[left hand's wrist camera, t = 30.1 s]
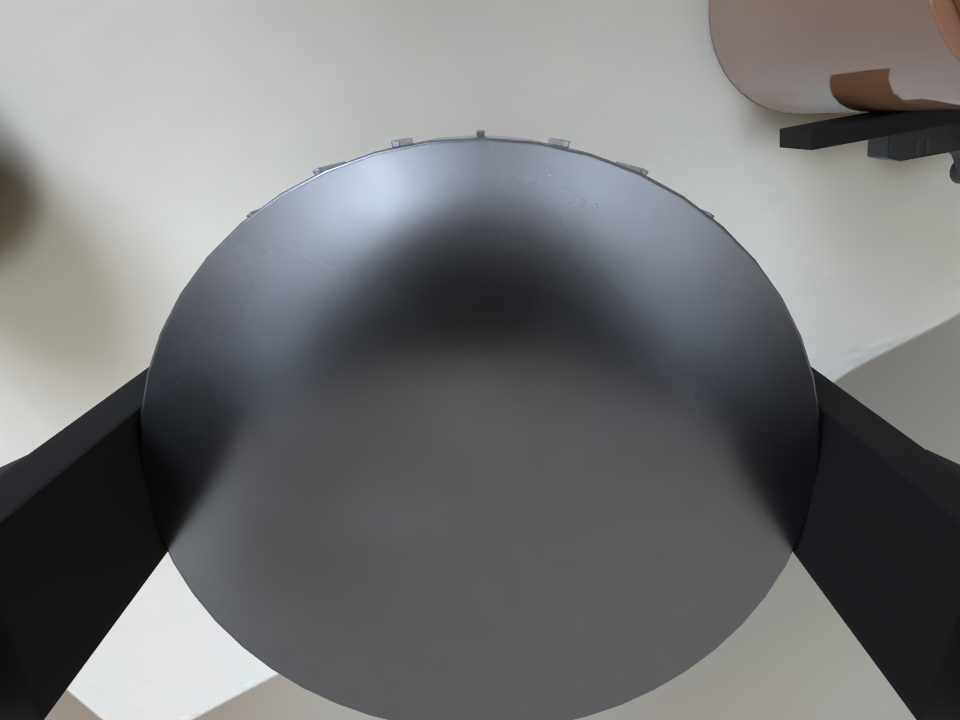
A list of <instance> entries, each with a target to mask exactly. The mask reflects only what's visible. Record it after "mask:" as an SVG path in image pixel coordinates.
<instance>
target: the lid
mask: <svg viewBox="0 0 960 720" xmlns="http://www.w3.org/2000/svg"><path fill="white" fill-rule="evenodd" d="M391 143H392V147H393V148H389V149H385V150H381V151H377V152H374V153H371V154H368V155H365V156H362V157H360V158H357V159H354V160H351V161H348V162H345V161H344V162H340V163H336V164H332V165H328V166H324V167H320V168H317V169H315V170H313V173H314V175H315V176H313V177H311V178H309V179H307V180H305V181H304V182H302V183H300V184H298V185H296V186H294V187H292V188H290V189H289V190H287V191H285V192H283V193H281V194H280V195H278V196H277V197H276V198H274V199H273V200H272V201H270V202H269V203H267V204H266V205H265V206H263V207H262V208H261V209H258V210H255V211H252V212H251V213H249V214H248V215H247V217H248V218H247V219H246V220H244V221H243V222H242V223H241V224H240V225H239V226H238V227H237V228H236V229H235V230H234V231H233V232H232V233H231V234H230V235H229V236H228V237H227V238H226V239H225V240H224V241H223V242H222V243H221V244H220V245H219V246H218V247H217V248H216V249H215V250H214V251H213V252H212V253H211V254H210V255H209V256H208V257H207V258H206V259H205V261H204V262H203V263H202V265H201V266H200V268H199V269H198V270H197V272H196V273H195V274H194V276H193V277H192V279H191V280H190V281H189V283H188V284H187V285H186V287H185V288H184V290H183V291H182V292H181V294H180V296H179V298H178V300H177V301H176V303H175V305H174V307H173V309H172V311H171V313H170V315H169V317H168V319H167V321H166V323H165V325H164V327H163V329H162V331H161V333H160V336H159V339H158V342H157V345H156V348H155V351H154V354H153V357H152V360H151V363H150V366H149V369H148V372H147V378H146V385H145V391H144V397H143V403H142V410H141V459H142V466H143V471H144V476H145V481H146V486H147V490H148V495H149V499H150V503H151V507H152V511H153V515H154V519H155V522H156V526H157V529H158V531H159V533H160V535H161V537H162V539H163V542H164V544H165V546H166V548H167V550H168V552H169V555H170V557H171V559H172V561H173V563H174V564H175V566H176V568H177V569H178V571H179V572H180V574H181V576H182V577H183V579H184V580H185V582H186V583H187V585H188V587H189V588H190V590H191V591H192V593H193V594H194V595H195V597H196V598H197V599H198V600H199V601H200V603H201V604H202V605H203V606H204V608H205V609H206V610H207V611H208V612H209V614H210V615H211V616H212V617H213V618H214V620H215V621H216V622H217V623H218V624H219V625H220V626H221V627H222V628H223V629H224V630H225V631H226V632H227V633H229V634H230V635H231V636H232V637H233V638H234V639H235V640H236V641H237V642H238V643H239V644H240V645H241V646H242V647H243V648H245V649H246V650H247V651H249V652H250V653H251V654H253V655H254V656H255V657H257V658H258V659H259V660H260V661H262V662H263V663H264V664H266V665H267V666H268V667H270V668H271V669H273V670H274V671H276V672H277V673H279V674H281V675H282V676H284V677H286V678H288V679H289V680H291V681H292V682H294V683H296V684H298V685H299V686H301V687H302V688H304V689H307V690H309V691H311V692H313V693H315V694H317V695H319V696H322V697H324V698H326V699H328V700H330V701H332V702H334V703H337V704H340V705H342V706H345V707H348V708H351V709H354V710H357V711H359V712H363V713H365V714H368V715H371V716H375V717H379V718H383V719H387V720H574V719H578V718H582V717H586V716H589V715H592V714H595V713H598V712H601V711H604V710H607V709H610V708H613V707H616V706H619V705H622V704H624V703H626V702H628V701H630V700H632V699H635V698H637V697H639V696H641V695H644V694H646V693H648V692H650V691H652V690H654V689H656V688H658V687H659V686H661V685H663V684H665V683H666V682H668V681H670V680H671V679H673V678H675V677H677V676H678V675H680V674H682V673H683V672H685V671H687V670H688V669H689V668H690V667H692V666H693V665H695V664H696V663H697V662H699V661H700V660H701V659H703V658H704V657H705V656H707V655H708V654H710V653H711V652H712V651H714V650H715V649H716V648H717V647H718V646H719V645H720V644H721V643H722V642H724V641H725V640H726V639H727V638H728V637H729V636H730V635H731V634H732V633H733V632H734V631H735V630H736V629H737V628H739V627H740V626H741V625H742V624H743V622H744V621H745V620H746V619H747V618H748V617H749V615H750V614H751V613H752V612H753V611H754V609H755V608H756V607H757V606H758V605H759V604H760V602H761V601H762V600H763V599H764V598H765V596H766V595H767V593H768V592H769V590H770V589H771V587H772V586H773V584H774V583H775V581H776V580H777V578H778V576H779V575H780V573H781V572H782V570H783V569H784V567H785V566H786V564H787V562H788V559H789V557H790V555H791V553H792V551H793V549H794V547H795V545H796V543H797V541H798V539H799V536H800V534H801V532H802V529H803V526H804V523H805V520H806V517H807V514H808V510H809V506H810V502H811V498H812V494H813V489H814V484H815V480H816V475H817V469H818V463H819V447H820V416H819V409H818V402H817V395H816V389H815V382H814V376H813V373H812V369H811V366H810V363H809V360H808V357H807V353H806V350H805V347H804V344H803V341H802V337H801V335H800V333H799V331H798V329H797V327H796V325H795V323H794V321H793V319H792V317H791V315H790V313H789V311H788V309H787V307H786V305H785V303H784V301H783V299H782V297H781V295H780V294H779V293H778V291H777V290H776V288H775V287H774V285H773V284H772V283H771V281H770V280H769V278H768V277H767V276H766V274H765V273H764V271H763V270H762V269H761V267H760V266H759V264H758V263H757V262H756V260H755V259H754V258H753V257H752V256H751V255H750V254H749V253H748V252H747V251H746V250H745V249H744V248H743V247H742V246H741V245H740V244H739V243H738V242H737V241H736V239H735V238H734V237H733V236H732V235H731V234H730V233H729V232H728V231H727V230H726V229H725V228H724V227H723V226H722V225H720V224H719V223H718V222H717V221H715V220H714V219H713V218H714V216H713V215H712V214H711V213H710V212H707V211H704V210H701V209H699V208H698V207H697V206H695V205H694V204H693V203H691V202H690V201H689V200H688V199H686V198H685V197H684V196H682V195H680V194H678V193H677V192H675V191H673V190H671V189H669V188H667V187H666V186H664V185H662V184H660V183H658V182H656V181H655V180H653V179H651V178H649V177H647V176H646V175H647V173H648V171H647V170H645V169H643V168H639V167H635V166H631V165H627V164H623V163H619V162H616V163H614V162H611V161H609V160H606V159H603V158H601V157H598V156H595V155H593V154H590V153H587V152H582V151H578V150H574V149H570V148H568V147H569V144H570V142H569V141H565V140H560V139H553V138H549V141H548V144H547V143H543V142H538V141H534V140H529V139H525V138H511V137H498V136H485V135H484V130H477V136H463V137H447V138H437V139H432V140H427V141H422V142H417V143H413V140H412V138H407V139H400V140H395V141H392V142H391ZM412 143H413V144H412Z"/></svg>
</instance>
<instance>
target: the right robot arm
mask: <svg viewBox="0 0 960 720" xmlns="http://www.w3.org/2000/svg"><path fill="white" fill-rule="evenodd" d="M863 140H868V155H867V156H868V157H873V158H877V159H885V160H896V161H903V160H908V159H914V158H919V157H925V156H930V155H936V154H941V153H947V152H949V153H950V154H951V155H952V157H953V161H954V163H953V164H952V166H951V169H950V178H951V180H952V181H953V182H955V183H959V184H960V110H930V111H889V112H867V113H862V114H857V115H851V116H846V117H841V118H835V119H830V120H825V121H819V122H814V123H809V124H803V125H798V126H793V127H787V128H782V129H780V147H783V148H794V149H806V150H814V149H820V148H825V147H830V146H836V145H841V144H847V143H852V142H857V141H863Z"/></svg>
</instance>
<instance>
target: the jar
mask: <svg viewBox="0 0 960 720" xmlns="http://www.w3.org/2000/svg"><path fill="white" fill-rule="evenodd" d="M709 22H710V31H711V37H712V42H713V46H714V50H715V52H716V55H717V58H718V60H719V63H720V65H721V66H722V68H723V70H724V72H725V74H726V75H727V77H728V78H729V79H730V81H731V82H732V83H733V84H734V86H735V87H736V88H737V89H738V90H739V91H740V92H742V93H743V94H744V95H745V96H746V97H748V98H749V99H751V100H752V101H754V102H755V103H757V104H759V105H761V106H763V107H765V108H768V109H772V110H775V111H778V112H785V113H796V114H807V113H848V112H889V111H930V110H960V0H710V3H709Z"/></svg>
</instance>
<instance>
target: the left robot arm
mask: <svg viewBox="0 0 960 720" xmlns="http://www.w3.org/2000/svg"><path fill="white" fill-rule="evenodd" d="M148 369H149V367H148V368H147V369H146V370H144V371H143V372H142V373H140V374H139V375H137V376H136V377H135V378H133V379H132V380H130V381H129V382H128V383H126V384H125V385H124V386H122V387H121V388H119V389H118V390H117V391H115V392H114V393H113V394H111V395H110V396H108V397H107V398H106V399H104V400H103V401H102V402H100V403H99V404H97V405H96V406H95V407H93V408H92V409H91V410H89V411H88V412H86V413H85V414H84V415H82V416H81V417H80V418H78V419H77V420H75V421H74V422H73V423H71V424H70V425H68V426H67V427H66V428H64V429H63V430H62V431H60V432H59V433H57V434H56V435H55V436H53V437H52V438H51V439H49V440H48V441H46V442H45V443H44V444H42V445H41V446H40V447H38V448H37V449H35V450H34V451H33V452H31V453H30V454H29V455H26V456H24V457H22V458H20V459H18V460H16V461H13V462H11V463H9V464H7V465H5V466H3V467H0V720H44V719H45V717H46V716H47V715H48V713H49V712H50V711H51V709H52V708H53V707H54V705H55V704H56V702H57V701H58V700H59V698H60V697H61V696H62V694H63V693H64V692H65V690H66V689H67V688H68V686H69V685H70V684H71V682H72V681H73V679H74V678H75V677H76V675H77V674H78V673H79V671H80V670H81V669H82V667H83V666H84V664H85V663H86V662H87V660H88V659H89V658H90V656H91V655H92V654H93V652H94V651H95V650H96V648H97V647H98V645H99V644H100V643H101V641H102V640H103V639H104V637H105V636H106V635H107V633H108V632H109V630H110V629H111V628H112V626H113V625H114V624H115V622H116V621H117V620H118V618H119V617H120V616H121V614H122V613H123V611H124V610H125V609H126V607H127V606H128V605H129V603H130V602H131V601H132V599H133V598H134V596H135V595H136V594H137V592H138V591H139V590H140V588H141V587H142V586H143V584H144V583H145V582H146V580H147V579H148V577H149V576H150V575H151V573H152V572H153V571H154V569H155V568H156V567H157V565H158V564H159V563H160V561H161V560H162V558H163V557H164V556H165V554H166V553H167V552H168V550H167V548H166V546H165V544H164V542H163V539H162V537H161V535H160V533H159V531H158V529H157V526H156V522H155V519H154V515H153V511H152V507H151V503H150V499H149V495H148V490H147V486H146V481H145V476H144V471H143V466H142V459H141V410H142V403H143V397H144V391H145V385H146V378H147V372H148ZM811 369H812V373H813V376H814V382H815V389H816V395H817V402H818V409H819V416H820V447H819V463H818V469H817V475H816V480H815V484H814V489H813V494H812V498H811V502H810V506H809V510H808V514H807V517H806V520H805V523H804V526H803V529H802V532H801V534H800V536H799V539H798V541H797V543H796V545H795V547H794V549H793V552H794V554H795V555H796V556H797V558H798V559H799V561H800V562H801V563H802V565H803V566H804V567H805V569H806V570H807V571H808V573H809V574H810V576H811V577H812V578H813V580H814V581H815V582H816V584H817V585H818V586H819V588H820V589H821V590H822V592H823V593H824V595H825V596H826V597H827V599H828V600H829V601H830V603H831V604H832V605H833V607H834V608H835V609H836V611H837V612H838V614H839V615H840V616H841V618H842V619H843V620H844V622H845V623H846V624H847V626H848V627H849V629H850V630H851V631H852V633H853V634H854V635H855V637H856V638H857V639H858V641H859V642H860V643H861V645H862V646H863V648H864V649H865V650H866V652H867V653H868V654H869V656H870V657H871V658H872V660H873V661H874V662H875V664H876V665H877V667H878V668H879V669H880V671H881V672H882V673H883V675H884V676H885V677H886V679H887V680H888V681H889V683H890V684H891V686H892V687H893V688H894V690H895V691H896V692H897V694H898V695H899V696H900V698H901V699H902V701H903V702H904V703H905V705H906V706H907V707H908V709H909V710H910V711H911V713H912V714H913V715H914V717H915V718H916V720H960V465H959V464H957V463H955V462H952V461H950V460H948V459H946V458H944V457H942V456H940V455H937V454H935V453H933V452H931V451H928V450H925V449H924V448H922V447H921V446H920V445H918V444H917V443H915V442H914V441H913V440H911V439H910V438H909V437H907V436H906V435H904V434H903V433H902V432H900V431H899V430H897V429H896V428H895V427H893V426H892V425H891V424H889V423H888V422H886V421H885V420H884V419H882V418H881V417H880V416H878V415H877V414H875V413H874V412H873V411H871V410H870V409H869V408H867V407H866V406H864V405H863V404H862V403H860V402H859V401H858V400H856V399H855V398H853V397H852V396H851V395H849V394H848V393H847V392H845V391H844V390H842V389H841V388H840V387H838V386H837V385H835V384H834V383H833V382H831V381H830V380H829V379H827V378H826V377H824V376H823V375H822V374H820V373H819V372H818V371H816V370H815V369H813V368H812V367H811Z"/></svg>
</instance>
